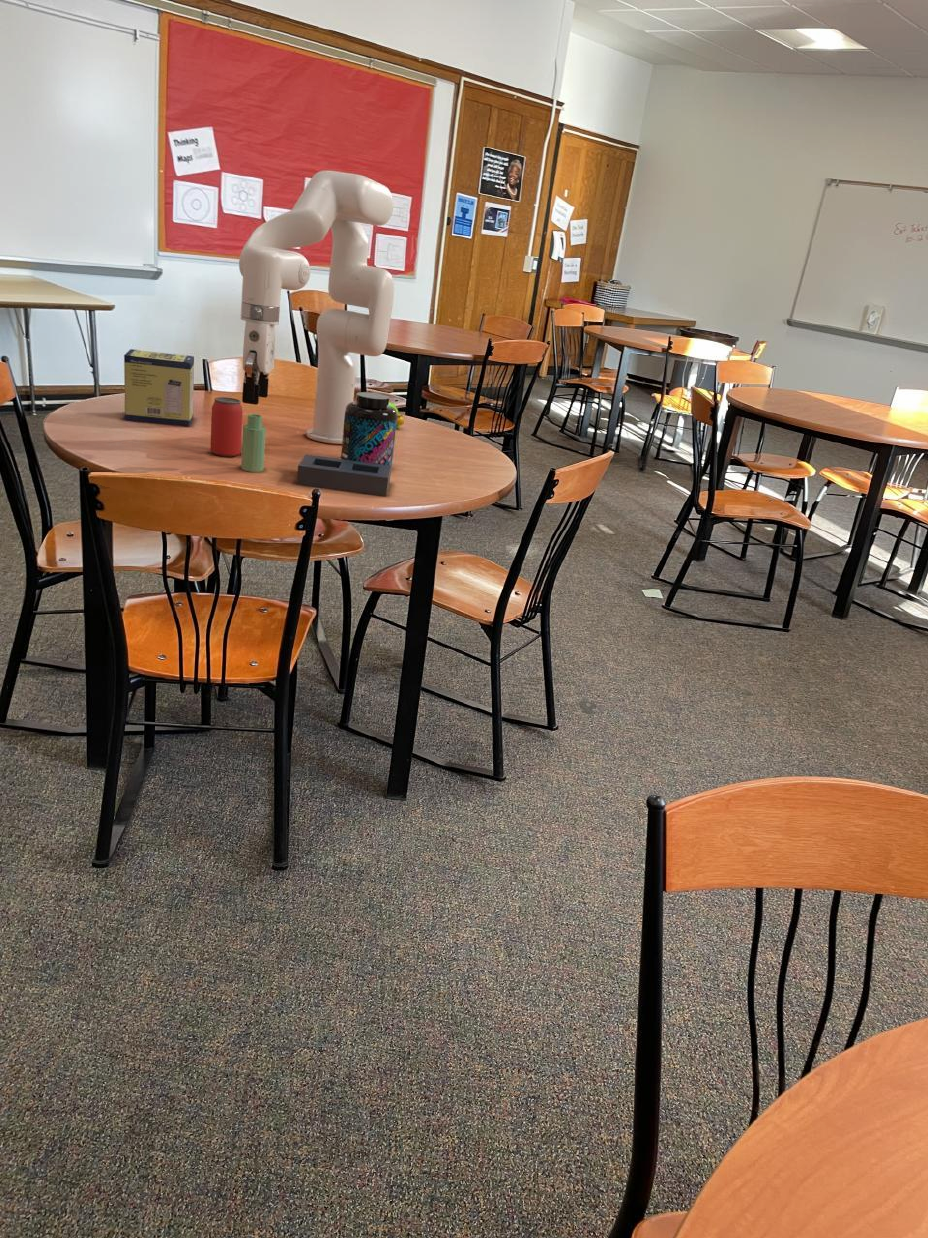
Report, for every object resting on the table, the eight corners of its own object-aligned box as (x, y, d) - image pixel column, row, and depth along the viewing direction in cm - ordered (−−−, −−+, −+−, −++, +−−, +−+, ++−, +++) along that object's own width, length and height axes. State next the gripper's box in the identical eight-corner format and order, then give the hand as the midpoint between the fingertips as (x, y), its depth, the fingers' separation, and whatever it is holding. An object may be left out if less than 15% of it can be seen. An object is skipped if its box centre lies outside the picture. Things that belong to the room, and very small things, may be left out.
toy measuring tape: (395, 431, 250) (398, 407, 247) (340, 416, 258) (342, 393, 256) (408, 429, 255) (411, 406, 252) (354, 414, 263) (356, 392, 261)
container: (387, 475, 204) (391, 401, 197) (334, 468, 205) (336, 394, 199) (399, 464, 214) (403, 393, 208) (348, 458, 216) (351, 387, 210)
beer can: (210, 456, 197) (212, 401, 193) (210, 448, 203) (211, 395, 198) (241, 458, 199) (243, 404, 195) (239, 451, 205) (242, 398, 200)
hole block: (304, 472, 196) (305, 454, 195) (389, 483, 198) (391, 465, 196) (296, 484, 186) (298, 465, 185) (386, 496, 188) (388, 477, 186)
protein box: (129, 411, 226) (129, 348, 220) (193, 418, 229) (195, 355, 223) (123, 420, 216) (122, 354, 210) (190, 426, 220) (192, 362, 214)
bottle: (243, 465, 194) (246, 411, 190) (265, 467, 195) (268, 414, 190) (239, 470, 190) (241, 415, 186) (261, 473, 191) (264, 418, 186)
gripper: (271, 319, 172) (265, 409, 179) (286, 314, 188) (280, 396, 195) (231, 313, 172) (227, 403, 178) (250, 308, 188) (245, 391, 194)
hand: (255, 399), depth 186 cm, fingers open, 9 cm apart
